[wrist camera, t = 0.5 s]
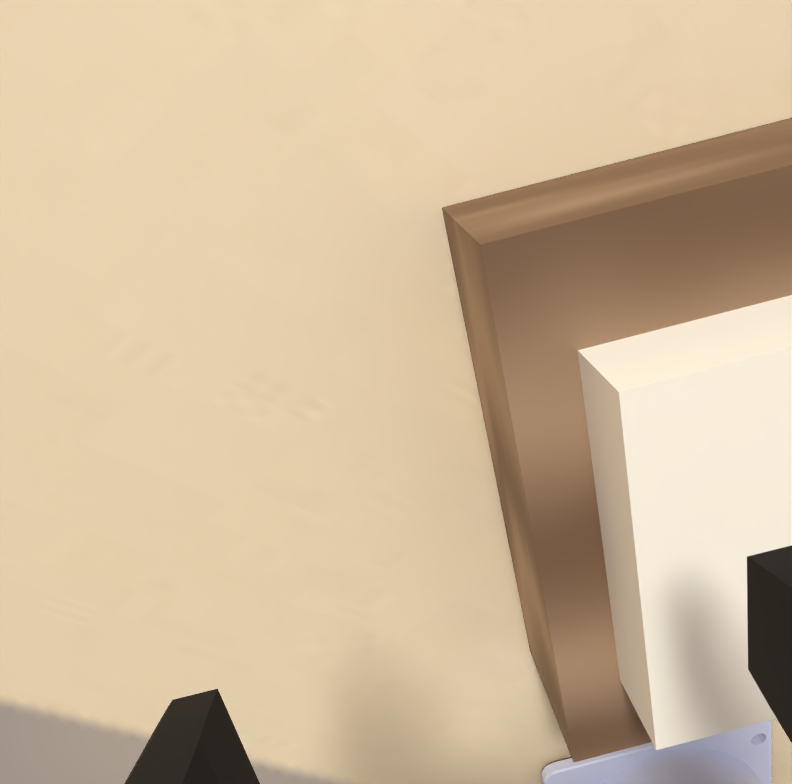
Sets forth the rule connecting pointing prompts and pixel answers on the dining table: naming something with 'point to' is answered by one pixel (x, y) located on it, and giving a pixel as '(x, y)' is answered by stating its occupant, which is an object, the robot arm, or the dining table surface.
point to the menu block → (691, 506)
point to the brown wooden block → (589, 326)
